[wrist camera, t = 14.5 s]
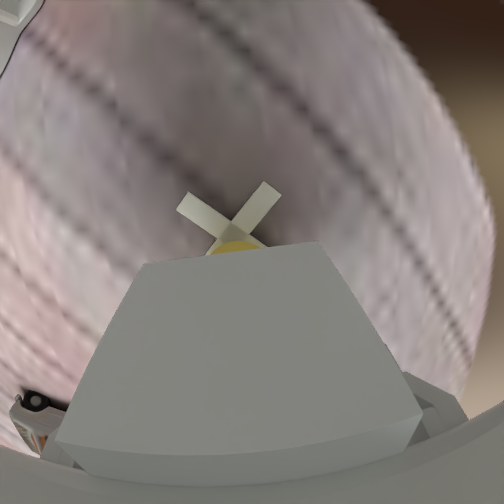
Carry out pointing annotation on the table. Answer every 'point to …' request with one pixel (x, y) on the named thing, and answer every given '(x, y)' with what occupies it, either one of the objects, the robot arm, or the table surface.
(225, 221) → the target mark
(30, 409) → the toy car
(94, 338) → the table surface
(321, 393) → the grey block
